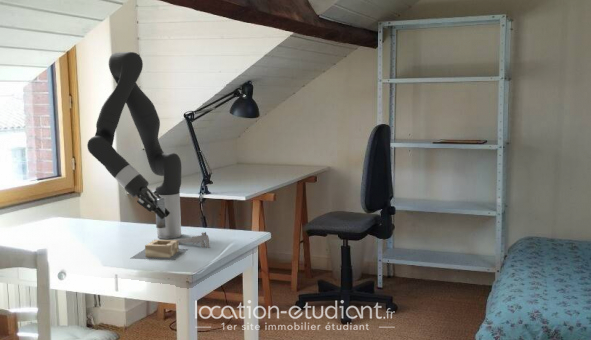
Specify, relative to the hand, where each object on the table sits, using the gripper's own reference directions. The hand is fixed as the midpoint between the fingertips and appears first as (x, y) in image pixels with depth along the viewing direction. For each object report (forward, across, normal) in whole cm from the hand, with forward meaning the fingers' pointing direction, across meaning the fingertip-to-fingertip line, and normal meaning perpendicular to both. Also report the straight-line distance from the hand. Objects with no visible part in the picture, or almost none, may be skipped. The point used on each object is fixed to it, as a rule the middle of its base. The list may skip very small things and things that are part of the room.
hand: (166, 216), depth 227 cm
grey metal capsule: (+1, 0, +4) cm, 4 cm away
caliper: (+12, +14, +9) cm, 20 cm away
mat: (+8, +1, +12) cm, 14 cm away
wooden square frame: (+8, 0, +11) cm, 14 cm away
